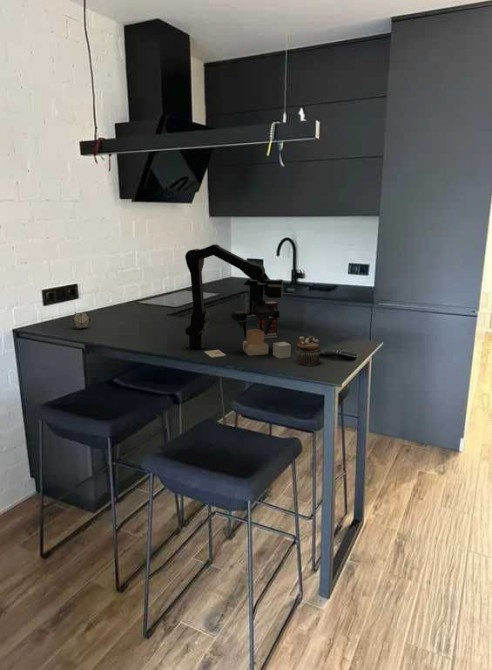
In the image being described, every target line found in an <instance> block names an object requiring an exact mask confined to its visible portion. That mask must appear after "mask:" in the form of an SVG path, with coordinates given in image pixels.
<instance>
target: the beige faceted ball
mask: <svg viewBox="0 0 492 670" xmlns="http://www.w3.org/2000/svg"><path fill="white" fill-rule="evenodd" d="M87 312H88V311H85V312H76V311H75V312H74V314H75V315H74V317H73V319H72V320H71V322H72V323H73V324H74V326H75V327H76V329H75V330H78V329H87V330H88V329H89V328H88V326H89V323H90V322H91V318H89V316H88V314H87Z"/></svg>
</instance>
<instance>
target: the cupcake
mask: <svg viewBox="0 0 492 670" xmlns="http://www.w3.org/2000/svg"><path fill="white" fill-rule="evenodd" d="M298 339H299V340H298V341H297V343H296V347H295V355H296V357H295V358H296V363H297V364H299V365H302V366H311V367H312V366H316V365H318V364H319V360H320V358H321V357H320V356H321V353H322V349H321V346H320V343H319V339H318V337H317V336H313V335H311V334H308V335H301V336H299V338H298Z"/></svg>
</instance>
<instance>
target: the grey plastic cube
mask: <svg viewBox="0 0 492 670" xmlns="http://www.w3.org/2000/svg"><path fill="white" fill-rule="evenodd" d="M291 346H292V345H291V344H290V343H288V342H286V341H279V342H278V341H277V342H273V343H272V356H274V357H276V358H277V359H284V358H285V359H287V358H291V352H292V350H291V348H292V347H291Z"/></svg>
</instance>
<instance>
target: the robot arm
mask: <svg viewBox="0 0 492 670" xmlns="http://www.w3.org/2000/svg"><path fill="white" fill-rule="evenodd" d="M213 256H214V257H216V258H218V259H220V260H222V261H224V262H226V264H227V263H228V264H229V265H231V266H233V267H235V268H237V269H239V270H241V272H242V273H243V274H244V275H245V276H247V277H248V279H246V281H245V282H243V285H244V286H248V298H247V302H248V308H247V312H244V311H242V310H237V311H235V310H234V311H232V313H231V317H230V318H231V319H232V320H234V321H235V322H237V323H238V325H239V328H240V331H241V332H242V335H243V337H244V338H247V323H248V321H247V320H246V319H247V318H256V317H257V318H258V319H264V331H265V335H267V334H268V331H269V329H270V326H271V324H272V322H273V321H274V320H277V321H278V319H279V318H281V312H280V310H276V309H274V306H273V305H269V306H266V304H265V302H266V300H265V299H264V296H266V297H267V298H271V299H272V298H274V299H283V297H284V284H283V280H282V279H277V280H274V279H272V280H271V279H270V278H269V276H268V275H267V273H266V268H265V266H264V265H262V264H261V263H258V262H255V261H251V260H247V259H244V258H243V257H241V256H239V255H237V254H235V253H233V252H231V251H229V250H227V249H226V248H223V247H221V246H220V245H219V244H215V243H214V244H210V245H209V246H207V247H203V248H200V249H199V248H193V249H189V250H187V252H186V253H185V257H184V258H185V263H186V266H187V269H188V271H189V273H190V283H191V297H192V298H191V299H192V312H191V314H190V315H191V317H190V324H189V325H188V326H187V327H186V328H185V329H184V332H185V334H186V336H188V342H187V344H185V347H186V348H187V349H189V351H193V350H194V351H195V350H202V349H203V350H204V349H206V346H205V345H203V332H204V331H205V328H208V327H207V326H209V323H210V322H211V318H210V311H211V310H206V308H205V301H204V299H205V298H204V285H203V268H204V265H205V264H204V263H205V259H207V258H209V257H213Z"/></svg>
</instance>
